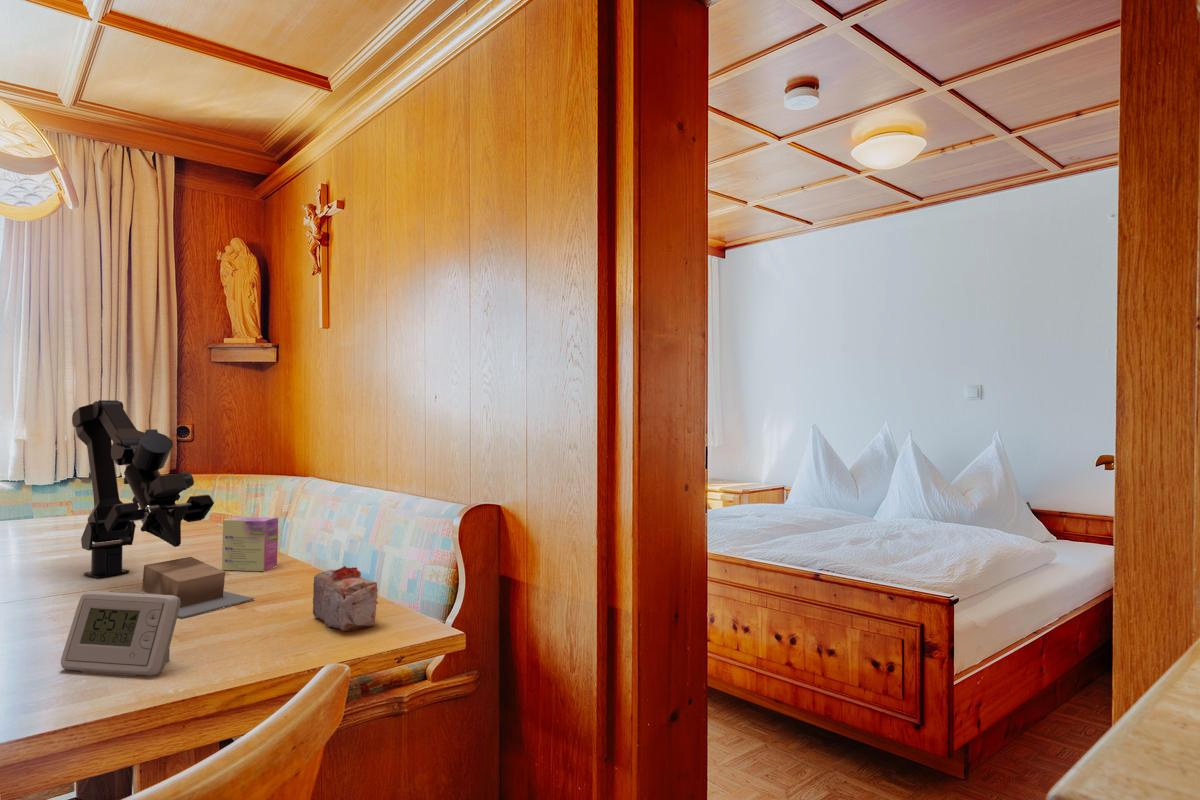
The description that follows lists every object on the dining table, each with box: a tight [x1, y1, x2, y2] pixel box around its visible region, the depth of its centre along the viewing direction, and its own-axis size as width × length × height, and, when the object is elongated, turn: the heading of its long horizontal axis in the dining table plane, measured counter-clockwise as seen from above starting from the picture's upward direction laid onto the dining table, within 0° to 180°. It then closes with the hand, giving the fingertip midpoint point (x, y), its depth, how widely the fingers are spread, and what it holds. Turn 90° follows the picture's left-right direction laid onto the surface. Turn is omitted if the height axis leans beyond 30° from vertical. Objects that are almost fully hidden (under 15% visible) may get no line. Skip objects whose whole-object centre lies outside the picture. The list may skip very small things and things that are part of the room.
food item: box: [312, 565, 379, 632], centre depth 123 cm, size 14×8×10 cm, turn 47°
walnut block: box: [141, 556, 226, 607], centre depth 137 cm, size 5×9×12 cm
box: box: [221, 515, 279, 573], centre depth 163 cm, size 10×6×12 cm, turn 84°
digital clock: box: [60, 590, 181, 677], centre depth 102 cm, size 16×9×11 cm, turn 70°
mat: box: [177, 590, 256, 620], centre depth 134 cm, size 15×14×2 cm
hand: (178, 545), depth 138 cm, fingers closed
